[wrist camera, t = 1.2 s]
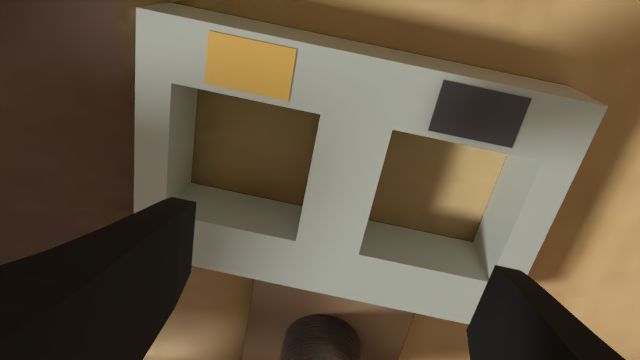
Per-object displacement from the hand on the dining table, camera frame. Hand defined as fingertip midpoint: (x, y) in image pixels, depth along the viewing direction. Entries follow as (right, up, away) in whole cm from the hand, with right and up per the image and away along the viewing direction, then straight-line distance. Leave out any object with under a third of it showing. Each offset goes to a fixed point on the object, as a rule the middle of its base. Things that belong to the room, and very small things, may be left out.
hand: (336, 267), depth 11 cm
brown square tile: (0, -6, +13) cm, 15 cm away
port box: (+1, +3, +9) cm, 9 cm away
